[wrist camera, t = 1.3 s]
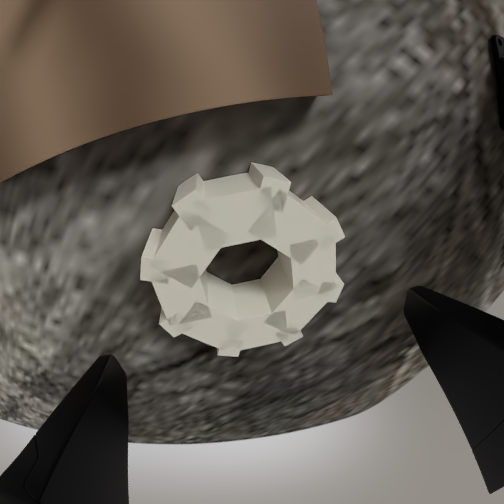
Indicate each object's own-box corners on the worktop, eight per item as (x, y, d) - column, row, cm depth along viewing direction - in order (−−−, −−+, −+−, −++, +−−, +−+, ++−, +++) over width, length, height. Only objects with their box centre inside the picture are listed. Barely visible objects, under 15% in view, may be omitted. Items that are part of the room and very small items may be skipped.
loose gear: (315, 152, 11) (342, 164, 9) (322, 299, 14) (341, 331, 12) (132, 188, 10) (115, 209, 8) (181, 329, 14) (179, 366, 12)
